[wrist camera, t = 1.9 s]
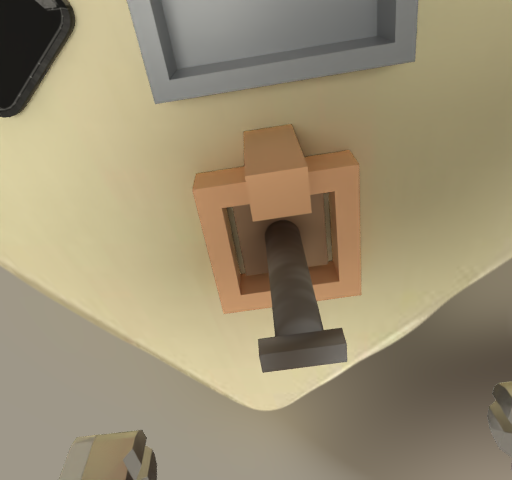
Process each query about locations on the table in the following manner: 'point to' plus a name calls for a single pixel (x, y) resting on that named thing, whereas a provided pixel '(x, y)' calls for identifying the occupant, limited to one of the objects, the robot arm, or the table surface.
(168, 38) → the tray
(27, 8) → the phone
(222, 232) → the ring
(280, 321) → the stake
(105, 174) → the table surface
